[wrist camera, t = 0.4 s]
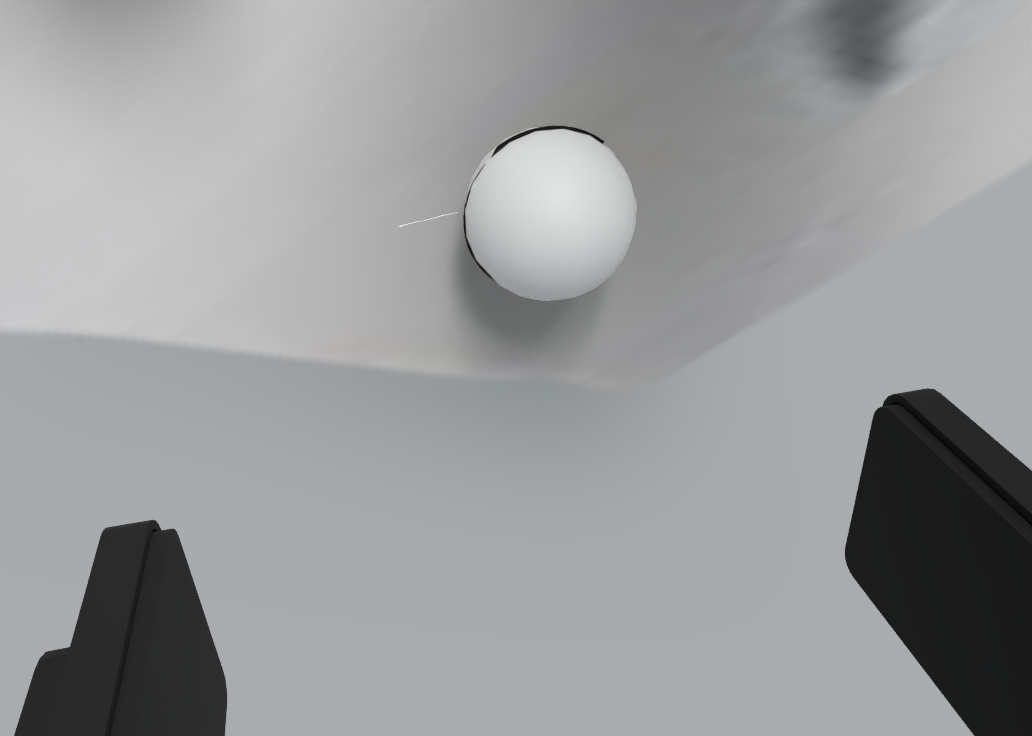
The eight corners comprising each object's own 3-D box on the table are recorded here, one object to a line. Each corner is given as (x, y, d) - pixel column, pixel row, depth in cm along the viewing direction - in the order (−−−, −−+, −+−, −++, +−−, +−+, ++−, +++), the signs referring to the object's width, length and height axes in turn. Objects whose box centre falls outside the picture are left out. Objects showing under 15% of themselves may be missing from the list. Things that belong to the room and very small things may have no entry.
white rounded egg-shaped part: (624, 116, 39) (686, 168, 33) (585, 267, 43) (634, 338, 36) (404, 80, 36) (428, 129, 30) (381, 245, 40) (398, 318, 34)
